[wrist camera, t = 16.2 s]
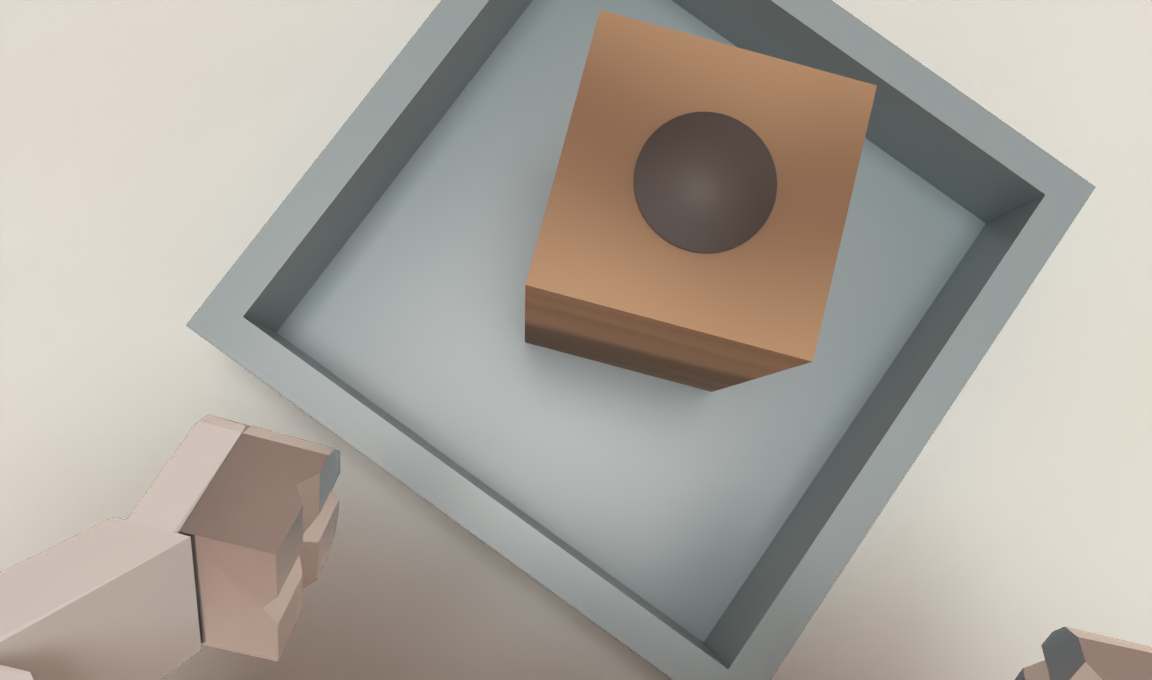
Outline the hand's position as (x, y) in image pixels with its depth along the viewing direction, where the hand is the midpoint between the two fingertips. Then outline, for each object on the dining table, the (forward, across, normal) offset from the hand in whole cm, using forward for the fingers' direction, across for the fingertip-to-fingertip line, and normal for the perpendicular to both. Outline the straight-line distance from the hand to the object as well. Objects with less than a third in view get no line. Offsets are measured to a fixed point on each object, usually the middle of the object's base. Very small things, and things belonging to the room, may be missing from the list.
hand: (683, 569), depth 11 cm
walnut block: (+12, +1, +4) cm, 13 cm away
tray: (+12, +1, +5) cm, 13 cm away
